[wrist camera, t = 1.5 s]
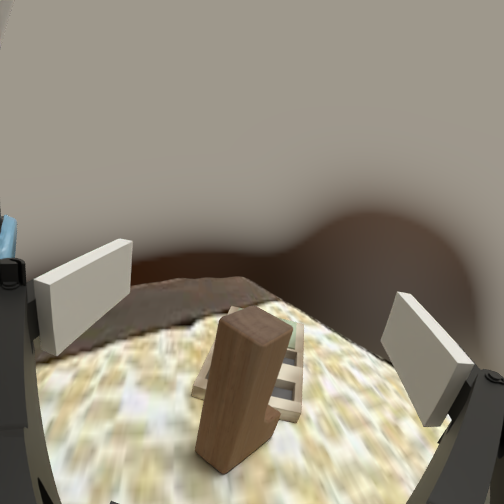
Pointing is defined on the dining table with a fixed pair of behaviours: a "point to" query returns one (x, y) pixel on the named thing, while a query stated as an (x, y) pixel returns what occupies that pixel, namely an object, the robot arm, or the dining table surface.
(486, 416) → the robot arm
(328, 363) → the dining table surface
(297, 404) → the board
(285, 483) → the dining table surface
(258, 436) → the wooden block
